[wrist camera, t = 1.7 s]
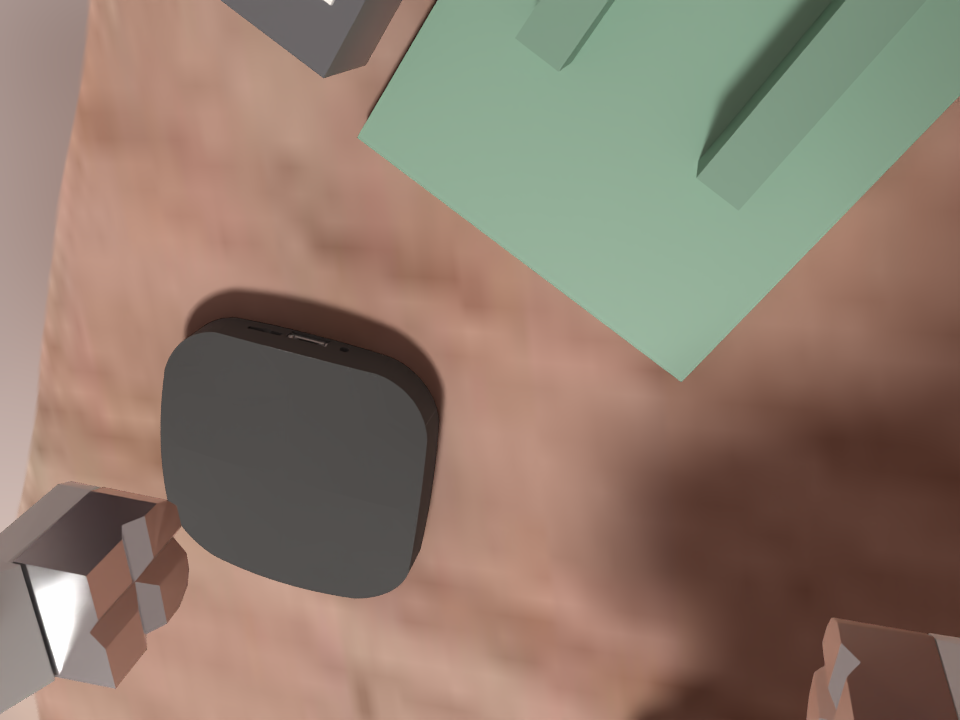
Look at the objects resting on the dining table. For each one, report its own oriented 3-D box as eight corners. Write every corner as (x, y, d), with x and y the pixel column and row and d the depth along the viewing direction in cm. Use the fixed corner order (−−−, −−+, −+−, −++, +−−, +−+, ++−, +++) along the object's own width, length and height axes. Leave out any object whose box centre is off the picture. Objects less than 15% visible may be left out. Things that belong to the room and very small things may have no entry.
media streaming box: (418, 588, 49) (401, 623, 47) (189, 519, 52) (160, 549, 49) (451, 366, 43) (434, 392, 40) (187, 298, 45) (153, 319, 42)
